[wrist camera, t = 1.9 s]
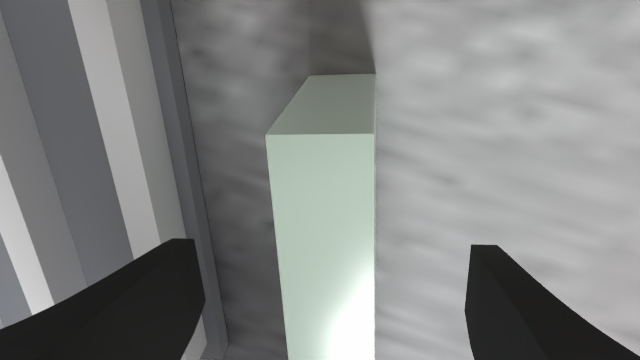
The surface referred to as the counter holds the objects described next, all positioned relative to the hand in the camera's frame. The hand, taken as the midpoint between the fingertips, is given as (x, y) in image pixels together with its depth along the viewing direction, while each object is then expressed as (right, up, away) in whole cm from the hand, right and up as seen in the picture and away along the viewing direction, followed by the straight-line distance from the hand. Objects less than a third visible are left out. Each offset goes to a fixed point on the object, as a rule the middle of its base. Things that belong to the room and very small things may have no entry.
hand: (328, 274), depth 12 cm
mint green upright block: (+1, +3, +6) cm, 7 cm away
